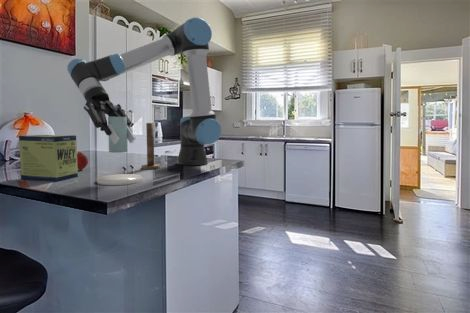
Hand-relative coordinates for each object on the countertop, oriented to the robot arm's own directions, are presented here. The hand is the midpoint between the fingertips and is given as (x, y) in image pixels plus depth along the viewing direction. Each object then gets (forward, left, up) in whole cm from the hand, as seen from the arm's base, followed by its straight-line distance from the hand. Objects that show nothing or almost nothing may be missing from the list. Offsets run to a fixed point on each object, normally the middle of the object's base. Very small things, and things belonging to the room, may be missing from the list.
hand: (125, 140), depth 107 cm
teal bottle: (0, -4, -4) cm, 5 cm away
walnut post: (-26, -20, -14) cm, 36 cm away
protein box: (+13, -27, -14) cm, 34 cm away
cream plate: (0, -3, -14) cm, 15 cm away
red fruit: (-3, -37, -14) cm, 40 cm away
